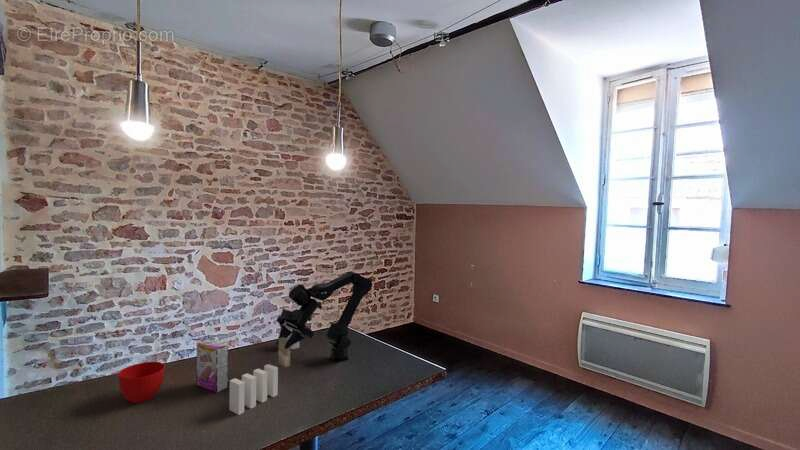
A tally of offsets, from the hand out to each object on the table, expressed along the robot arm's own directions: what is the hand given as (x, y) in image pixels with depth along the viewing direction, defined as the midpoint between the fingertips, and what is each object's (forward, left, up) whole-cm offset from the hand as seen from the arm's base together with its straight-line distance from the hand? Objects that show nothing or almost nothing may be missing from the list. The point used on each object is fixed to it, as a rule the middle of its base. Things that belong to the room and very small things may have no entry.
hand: (281, 346), depth 141 cm
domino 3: (+11, +9, -14) cm, 19 cm away
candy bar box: (+22, -10, -14) cm, 28 cm away
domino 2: (+15, +10, -14) cm, 23 cm away
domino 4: (+6, +7, -14) cm, 17 cm away
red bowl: (+43, -17, -14) cm, 48 cm away
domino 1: (+19, +12, -14) cm, 26 cm away
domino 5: (-1, 0, -8) cm, 8 cm away
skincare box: (-17, -30, -14) cm, 37 cm away
